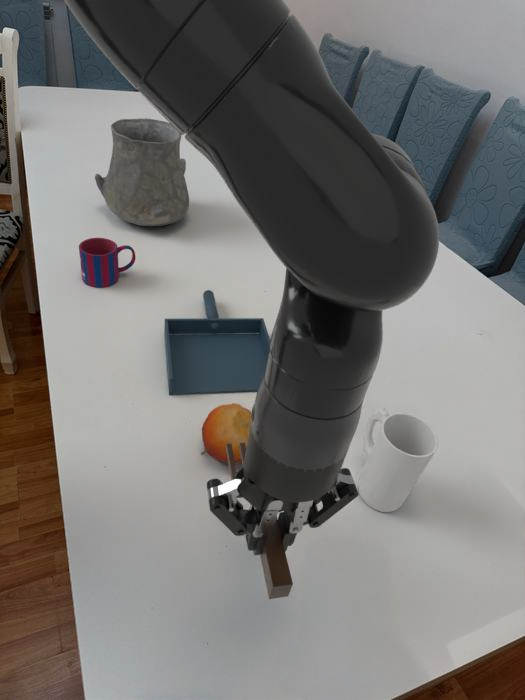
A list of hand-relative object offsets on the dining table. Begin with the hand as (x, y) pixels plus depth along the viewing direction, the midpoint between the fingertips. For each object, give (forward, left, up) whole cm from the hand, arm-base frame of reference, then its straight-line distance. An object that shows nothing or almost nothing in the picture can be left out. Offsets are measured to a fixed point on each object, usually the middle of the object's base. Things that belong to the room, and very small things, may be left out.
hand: (268, 544), depth 48 cm
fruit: (0, +19, -10) cm, 22 cm away
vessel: (-9, +88, -10) cm, 89 cm away
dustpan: (+1, +42, -10) cm, 44 cm away
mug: (+19, +12, -10) cm, 25 cm away
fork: (0, +3, 0) cm, 3 cm away
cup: (-17, +62, -10) cm, 65 cm away
